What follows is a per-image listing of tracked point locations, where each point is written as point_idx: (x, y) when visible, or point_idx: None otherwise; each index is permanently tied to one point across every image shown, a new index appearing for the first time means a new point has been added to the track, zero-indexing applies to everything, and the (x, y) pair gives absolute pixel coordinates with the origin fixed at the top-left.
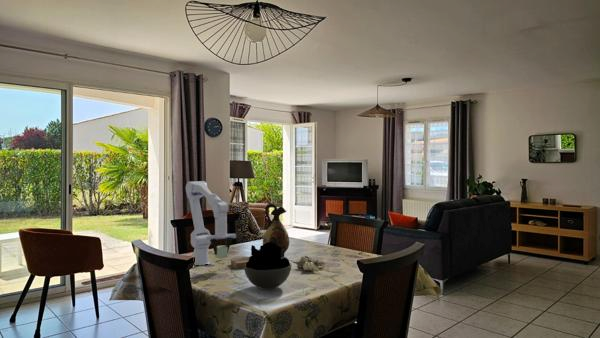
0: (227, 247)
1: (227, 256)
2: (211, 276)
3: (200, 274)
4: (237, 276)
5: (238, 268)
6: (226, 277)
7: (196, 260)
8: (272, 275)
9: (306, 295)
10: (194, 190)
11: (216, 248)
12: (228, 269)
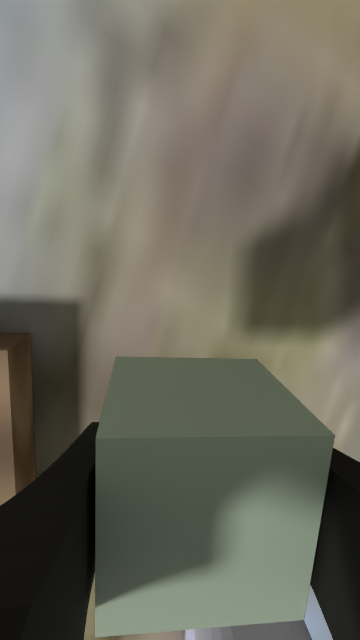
0: (97, 434)
1: (117, 360)
2: (307, 208)
3: (356, 318)
4: (102, 64)
5: (12, 334)
6: (208, 94)
7: (303, 620)
8: None
9: None
10: None
11: (330, 466)
12: (104, 361)
